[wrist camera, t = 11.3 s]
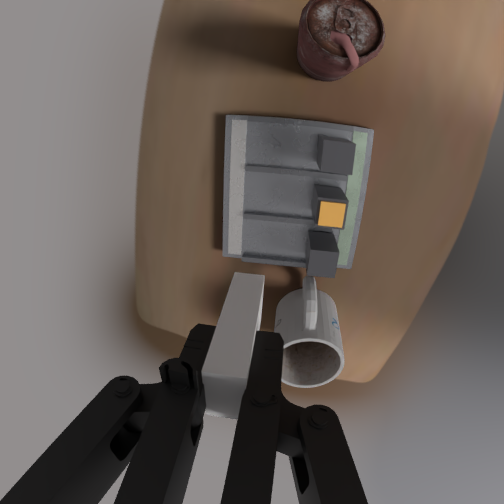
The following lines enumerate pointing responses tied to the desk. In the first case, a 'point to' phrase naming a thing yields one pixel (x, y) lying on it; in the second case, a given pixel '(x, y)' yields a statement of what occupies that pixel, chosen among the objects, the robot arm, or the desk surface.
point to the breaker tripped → (329, 207)
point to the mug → (309, 336)
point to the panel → (285, 188)
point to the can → (338, 37)
